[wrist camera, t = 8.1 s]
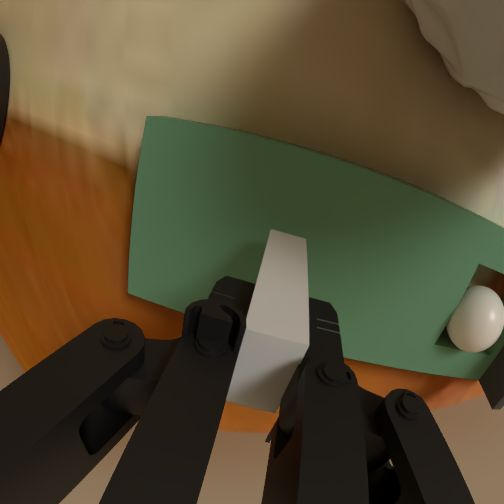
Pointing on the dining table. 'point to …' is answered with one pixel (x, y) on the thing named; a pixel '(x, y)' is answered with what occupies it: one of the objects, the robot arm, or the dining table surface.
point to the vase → (467, 42)
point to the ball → (476, 320)
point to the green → (312, 241)
